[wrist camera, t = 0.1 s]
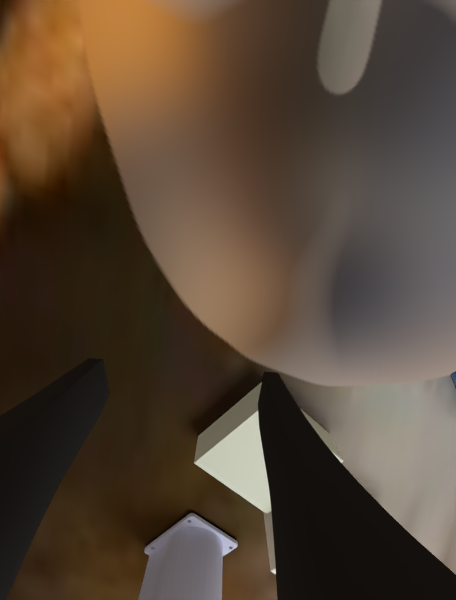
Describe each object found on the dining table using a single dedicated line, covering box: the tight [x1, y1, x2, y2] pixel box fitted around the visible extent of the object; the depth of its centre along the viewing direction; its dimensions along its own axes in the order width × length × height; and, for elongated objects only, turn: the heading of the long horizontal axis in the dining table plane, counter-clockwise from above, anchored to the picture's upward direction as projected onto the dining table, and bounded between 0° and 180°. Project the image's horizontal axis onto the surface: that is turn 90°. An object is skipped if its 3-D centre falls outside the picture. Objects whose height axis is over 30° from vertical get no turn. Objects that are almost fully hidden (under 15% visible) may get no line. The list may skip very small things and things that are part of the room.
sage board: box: [194, 382, 344, 514], centre depth 23 cm, size 10×10×3 cm
